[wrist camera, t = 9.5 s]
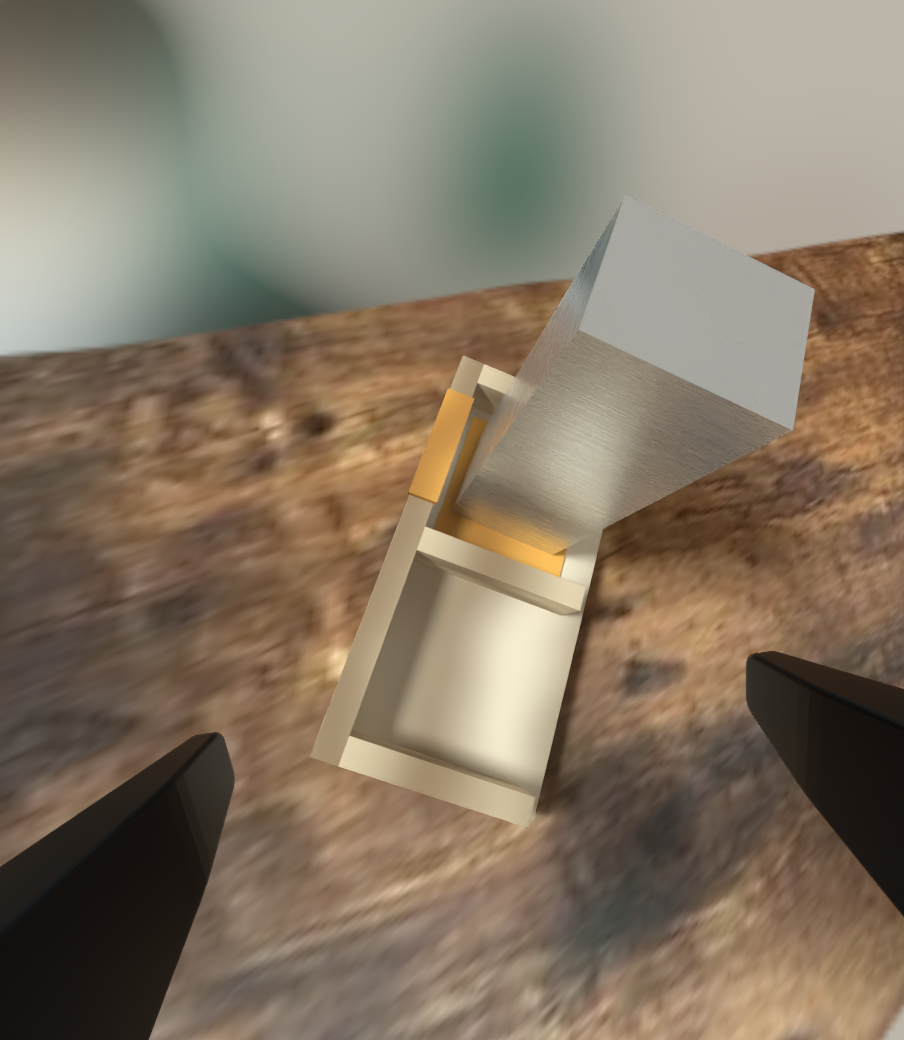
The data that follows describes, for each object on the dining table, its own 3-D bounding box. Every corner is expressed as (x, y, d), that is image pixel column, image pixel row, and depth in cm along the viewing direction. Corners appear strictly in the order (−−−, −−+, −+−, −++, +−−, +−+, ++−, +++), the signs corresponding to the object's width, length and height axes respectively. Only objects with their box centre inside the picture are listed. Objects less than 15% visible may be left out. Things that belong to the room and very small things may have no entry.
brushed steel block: (552, 555, 23) (792, 430, 11) (449, 511, 22) (578, 330, 10) (576, 476, 24) (815, 284, 12) (480, 433, 24) (626, 190, 12)
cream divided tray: (612, 456, 26) (648, 428, 23) (524, 812, 21) (557, 839, 18) (447, 389, 25) (462, 350, 22) (312, 742, 20) (306, 757, 17)
